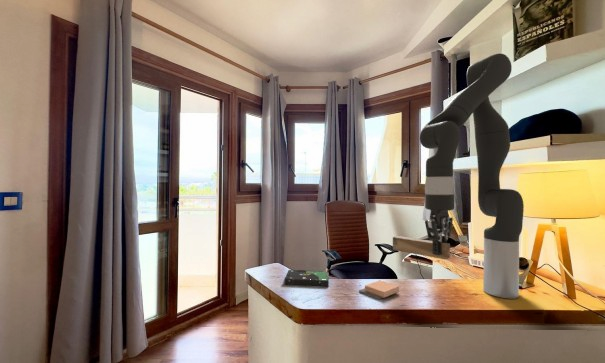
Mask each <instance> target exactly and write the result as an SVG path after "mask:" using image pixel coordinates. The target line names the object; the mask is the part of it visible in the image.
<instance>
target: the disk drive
mask: <svg viewBox="0 0 605 363" xmlns="http://www.w3.org/2000/svg"><path fill="white" fill-rule="evenodd" d="M329 272H330V271H324V270H304V269H303V270H302V269H301V270H300V269H288V271H287V273H286V274H285V275H286V276H285V277H284V286H298V287H317V288H318V287H319V288H329V280H330V277H329ZM310 279H311V280H310ZM322 279H326V280H322Z"/></svg>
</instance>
